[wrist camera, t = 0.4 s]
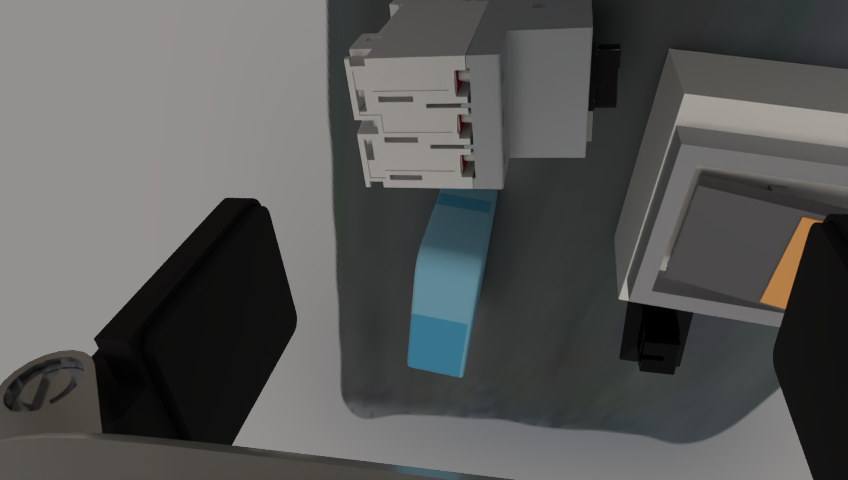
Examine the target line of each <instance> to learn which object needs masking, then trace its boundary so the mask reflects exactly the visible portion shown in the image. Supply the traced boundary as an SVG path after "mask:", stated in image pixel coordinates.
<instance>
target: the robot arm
mask: <svg viewBox="0 0 848 480" xmlns="http://www.w3.org/2000/svg"><path fill="white" fill-rule="evenodd" d="M296 324H297V315H296V310H295V306H294V302H293V299H292V295H291V291H290V287H289V284H288V280H287V276H286V272H285V269H284V265H283V261H282V258H281V254H280V250H279V246H278V243H277V239H276V235H275V232H274V228H273V224H272V220H271V217H270V213H269V211H268V209H267V208H266V207H264V206H261V204H260V203H259V201H258V200H256V199H253V198H225V199H224V200H223V201H222V202H221V203H220V204H219V205H218V206H217V207H216V208H215V209H214V210H213V211H212V212H211V213H210V214H209V215H208V216H207V218H206V219H205V220H204V221H203V222H202V223H201V224H200V225H199V226H198V227H197V228H196V229H195V231H194V232H193V233H192V234H191V235H190V236H189V237H188V238H187V239H186V240H185V241H184V242H183V243H182V244H181V246H180V247H179V248H178V249H177V250H176V251H175V252H174V253H173V254H172V255H171V256H170V257H169V258H168V260H167V261H166V262H165V263H164V264H163V265H162V266H161V267H160V268H159V269H158V270H157V271H156V272H155V273H154V275H153V276H152V277H151V278H150V279H149V280H148V281H147V282H146V283H145V284H144V285H143V286H142V288H141V289H140V290H139V291H138V292H137V293H136V294H135V295H134V296H133V297H132V298H131V299H130V301H128V303H127V304H126V305H125V306H124V307H123V308H122V309H121V310H120V311H119V312H118V313H117V314H116V315H115V317H114V318H113V319H112V320H111V321H110V322H109V323H108V324H107V325H106V326H105V327H104V328H103V329H102V330H101V332H100V333H99V334H98V335H97V336H96V337H95V338H94V340H95V342H96V344H97V346H98V348H99V349H98V350H97V351H96V353H95V354H94V355H93V356H92V357H91V356H89V355H88V354H86V353H84V352H81V351H75V350H69V351H58V352H55V353H51V354H47V355H44V356H42V357H40V358H37V359H35V360H33V361H31V362H29V363H27V364H25V365H24V366H23V367H21V368H19V369H18V370H16V371H15V372H14V373H12V374H11V375H10V376H9V377H8V378H7V379H6V380H4V381H3V383H2V384H1V385H0V480H512V479H504V478H496V477H488V476H480V475H472V474H464V473H456V472H448V471H440V470H431V469H424V468H415V467H407V466H399V465H391V464H383V463H375V462H367V461H358V460H349V459H342V458H333V457H325V456H316V455H308V454H299V453H291V452H281V451H273V450H265V449H256V448H248V447H240V446H232V444H233V442H234V440H235V438H236V436H237V435H238V433H239V431H240V429H241V427H242V425H243V424H244V422H245V420H246V418H247V416H248V415H249V413H250V411H251V409H252V408H253V406H254V404H255V402H256V400H257V398H258V397H259V395H260V393H261V391H262V389H263V387H264V386H265V384H266V382H267V380H268V379H269V377H270V375H271V373H272V371H273V370H274V368H275V366H276V364H277V362H278V360H279V359H280V357H281V355H282V353H283V351H284V350H285V348H286V346H287V344H288V343H289V340H290V339H291V337H292V335H293V333H294V331H295V329H296ZM773 363H774V368H775V372H776V375H777V378H778V380H779V383H780V386H781V389H782V391H783V394H784V397H785V400H786V403H787V406H788V409H789V412H790V415H791V417H792V420H793V423H794V426H795V429H796V432H797V434H798V437H799V440H800V443H801V446H802V448H803V451H804V454H805V457H806V460H807V463H808V466H809V468H810V471H811V474H812V477H813V479H814V480H848V214H829V215H827V216H826V218H825V219H824V221H823V222H815V223H813V224H812V226H811V227H810V230H809V232H808V236H807V239H806V242H805V246H804V249H803V252H802V256H801V259H800V262H799V266H798V269H797V272H796V276H795V279H794V282H793V286H792V289H791V292H790V296H789V299H788V302H787V306H786V309H785V312H784V316H783V319H782V322H781V325H780V329H779V332H778V335H777V339H776V342H775V345H774V350H773Z"/></svg>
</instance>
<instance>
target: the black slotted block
mask: <svg viewBox="0 0 848 480" xmlns="http://www.w3.org/2000/svg"><path fill="white" fill-rule="evenodd" d="M692 316H693V312H688V311H682V310H677V309H671V308H665V307H659V306H653V305H647V304H641V303H636V302H630V301H628V305H627V312H626V319H625V325H624V332H623V338H622V345H621V351H620V359H622V360H629V361H637V362H638V365H639V369H640V371H643V372H653V373H662V374H672V375H674V373H675V369H676V367H678V366H680V363H681V359H682V355H683V351H684V347H685V343H686V339H687V335H688V331H689V328H690V324H691V320H692Z"/></svg>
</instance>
